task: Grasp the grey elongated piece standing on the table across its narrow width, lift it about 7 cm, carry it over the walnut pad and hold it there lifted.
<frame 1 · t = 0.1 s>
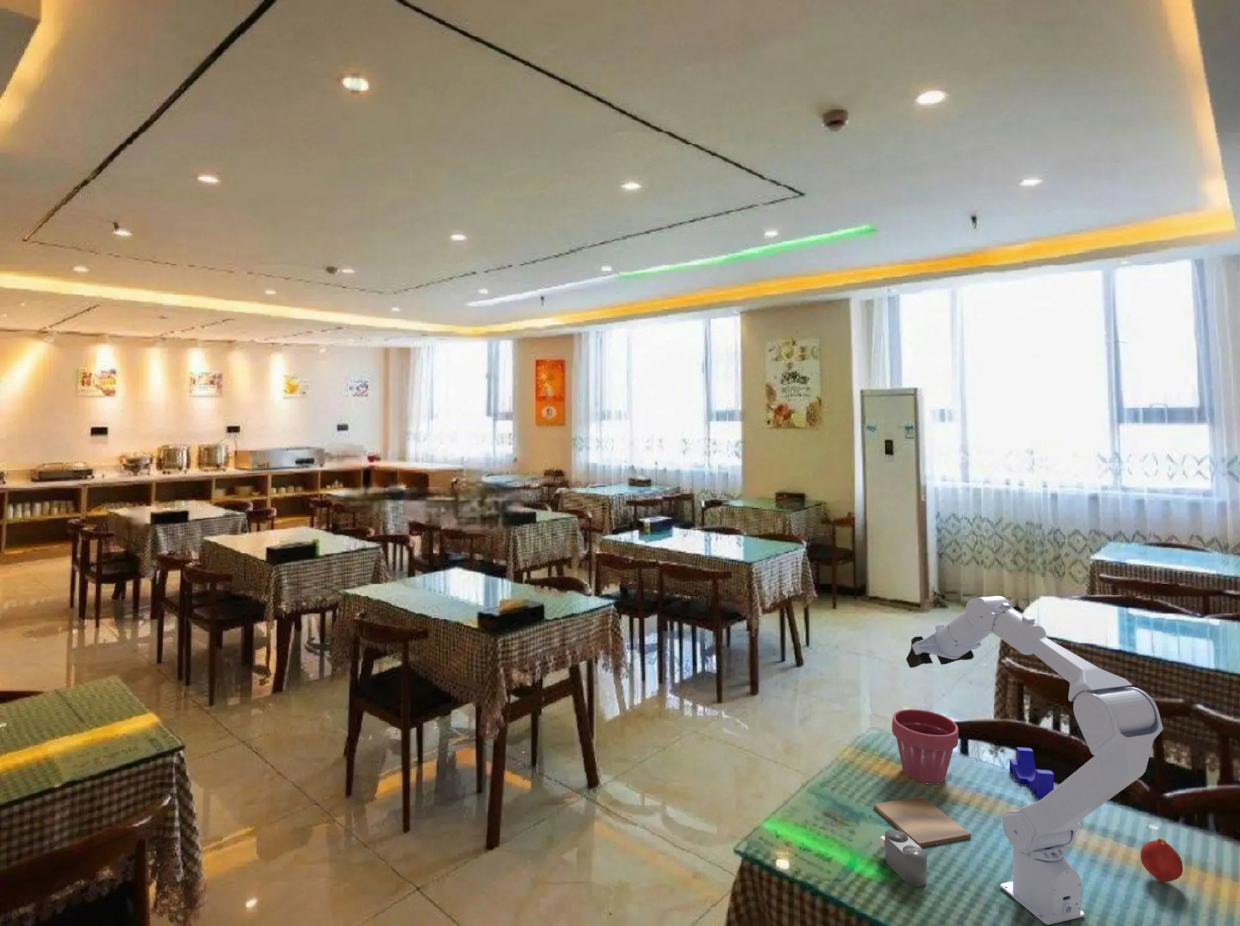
hand: (924, 661, 136), 32 cm above the table, tool tilted 50°, fingers open, 7 cm apart
plant pot: (924, 775, 152), on the table
onion: (1160, 882, 115), on the table
walnut pad: (920, 822, 133), on the table
grey elongated piece: (905, 870, 118), on the table
cable clip: (1030, 786, 147), on the table
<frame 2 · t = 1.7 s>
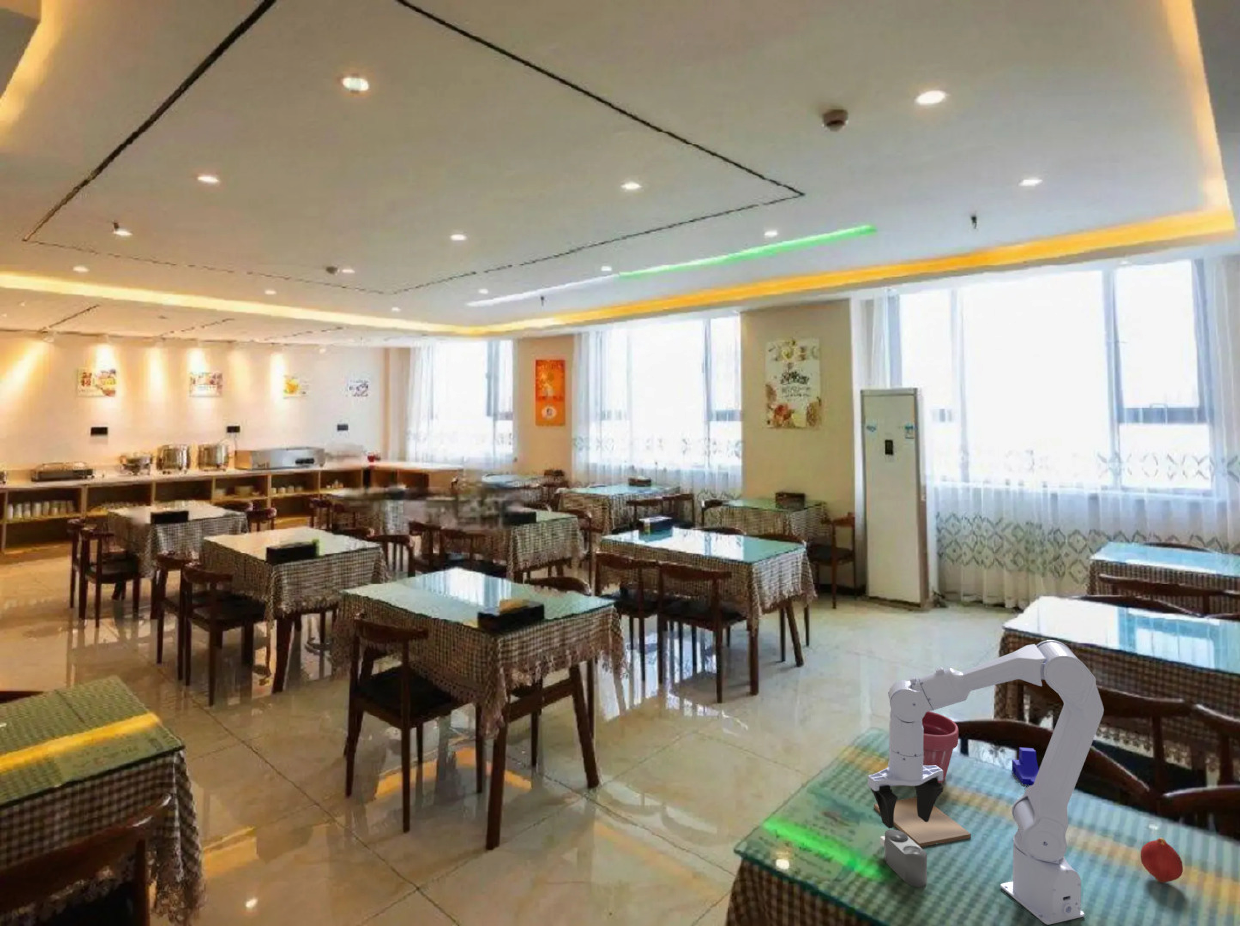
hand: (905, 821, 118), 9 cm above the table, tool pointing down, fingers open, 7 cm apart
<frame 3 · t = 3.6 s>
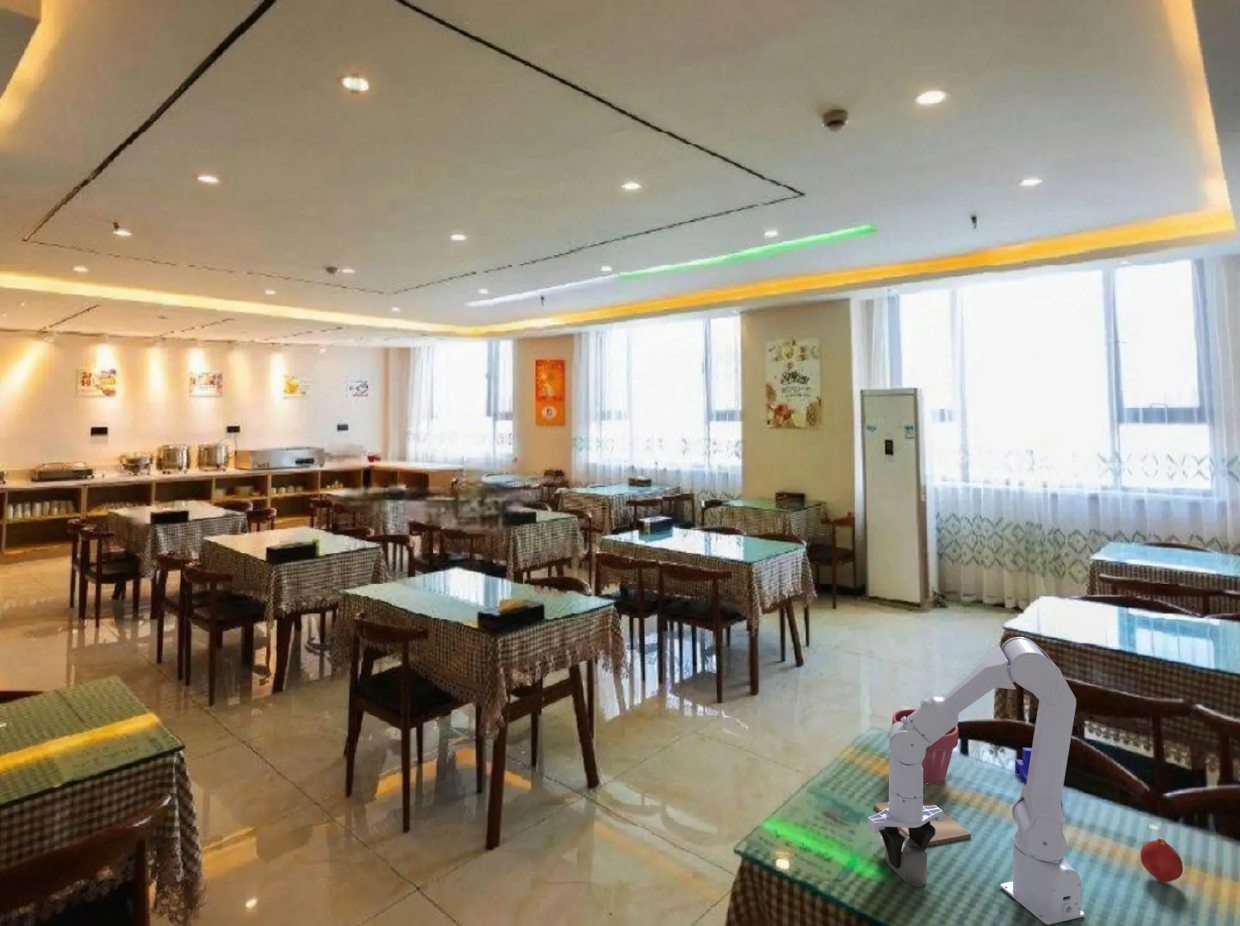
hand: (905, 862, 118), 1 cm above the table, tool pointing down, fingers closed on grey elongated piece, 4 cm apart
grey elongated piece: (905, 870, 118), on the table, touching gripper
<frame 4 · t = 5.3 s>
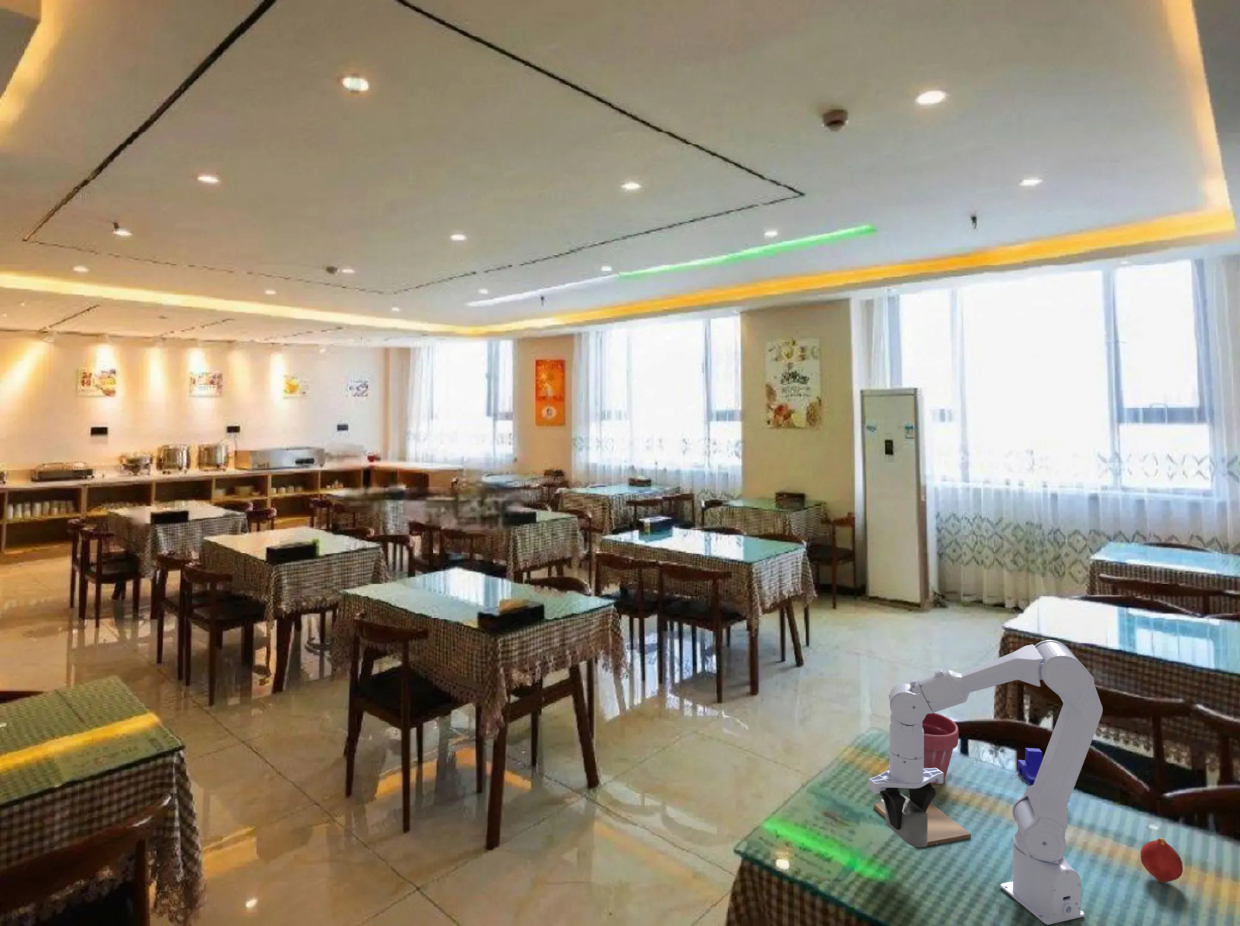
hand: (906, 824, 118), 8 cm above the table, tool pointing down, fingers closed on grey elongated piece, 4 cm apart
grey elongated piece: (905, 832, 118), point 7 cm above the table, touching gripper
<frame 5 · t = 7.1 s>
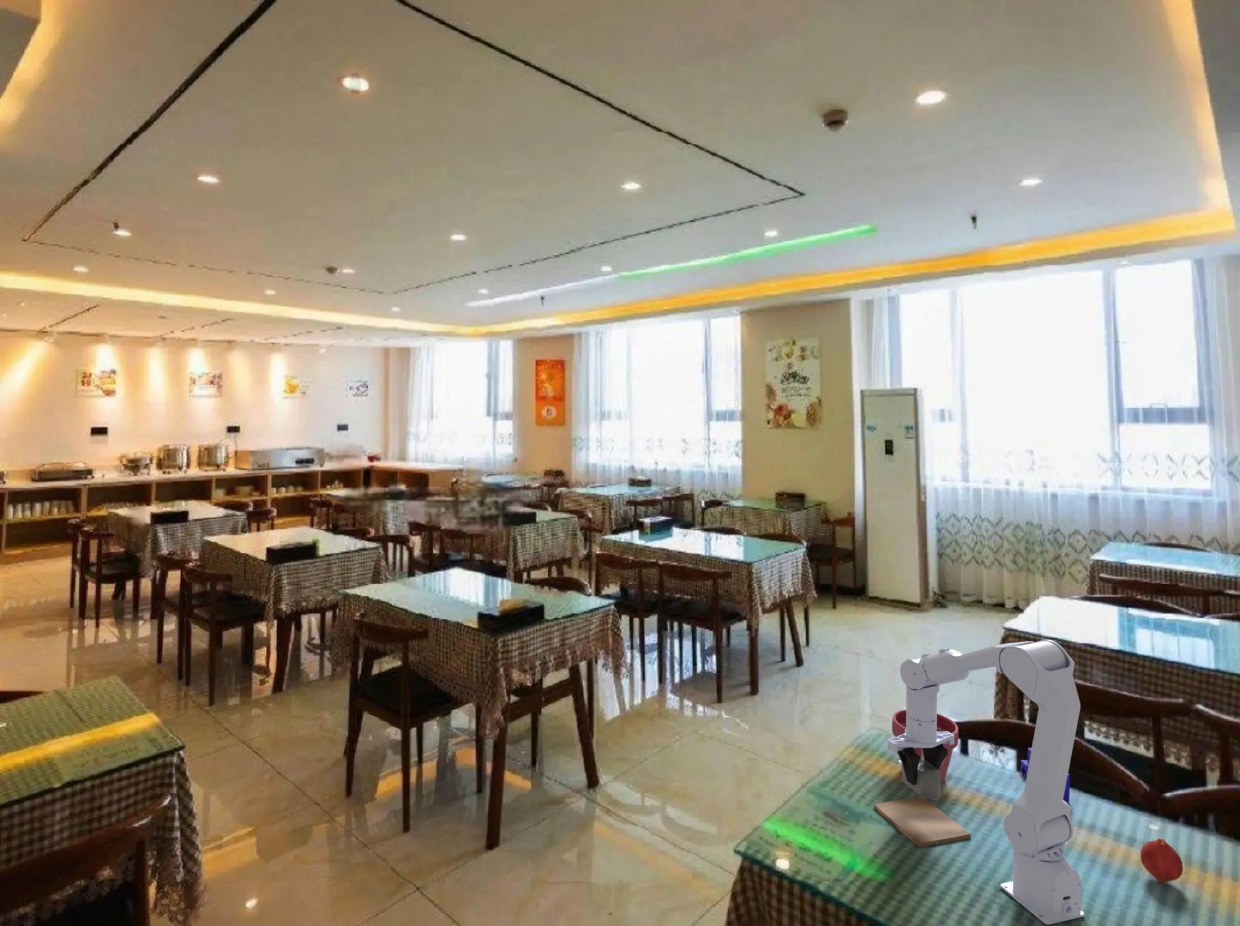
hand: (920, 781, 133), 9 cm above the table, tool pointing down, fingers closed on grey elongated piece, 4 cm apart
grey elongated piece: (920, 787, 133), point 7 cm above the table, touching gripper
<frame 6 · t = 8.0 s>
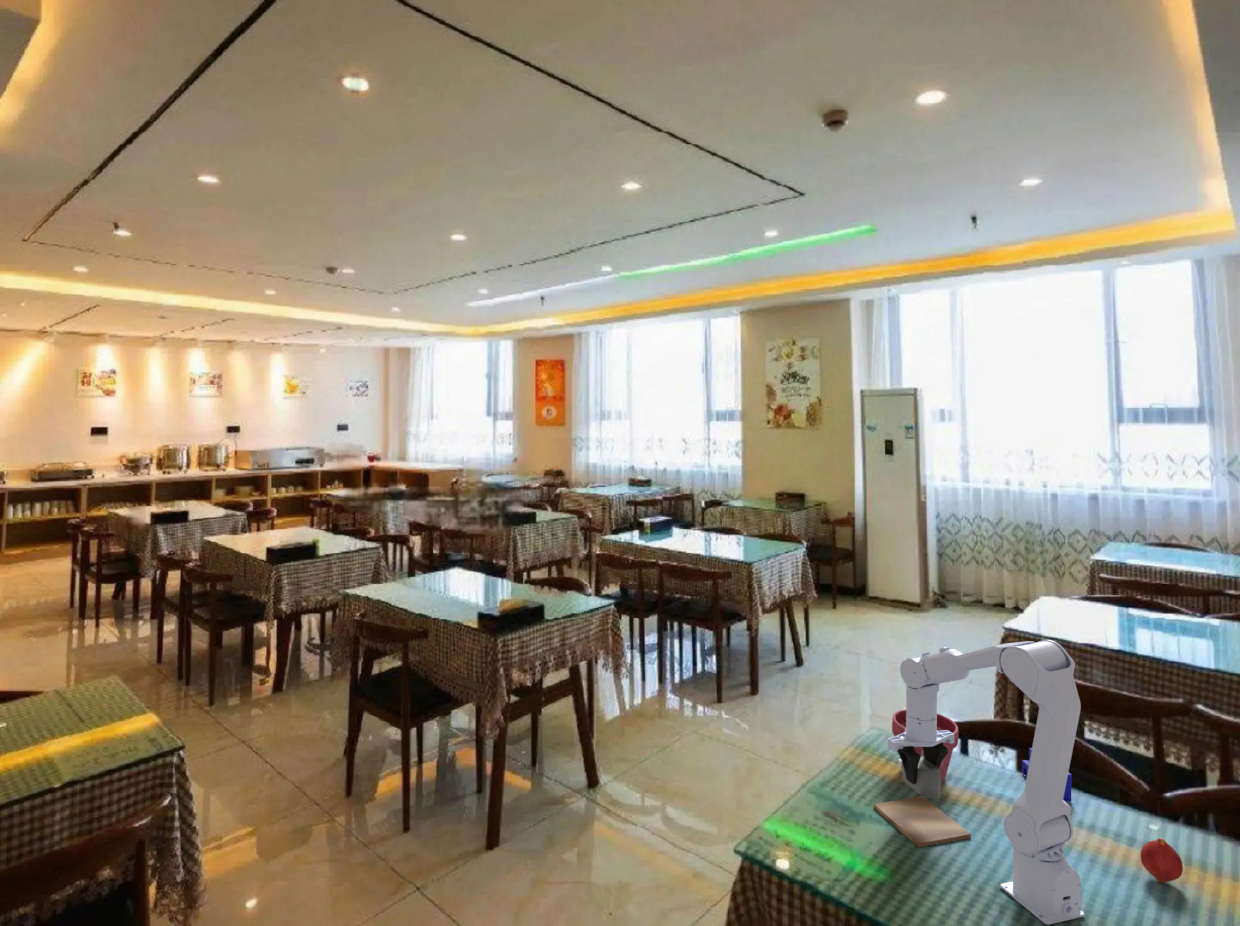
hand: (920, 779, 133), 9 cm above the table, tool pointing down, fingers closed on grey elongated piece, 4 cm apart
grey elongated piece: (920, 786, 133), point 7 cm above the table, touching gripper
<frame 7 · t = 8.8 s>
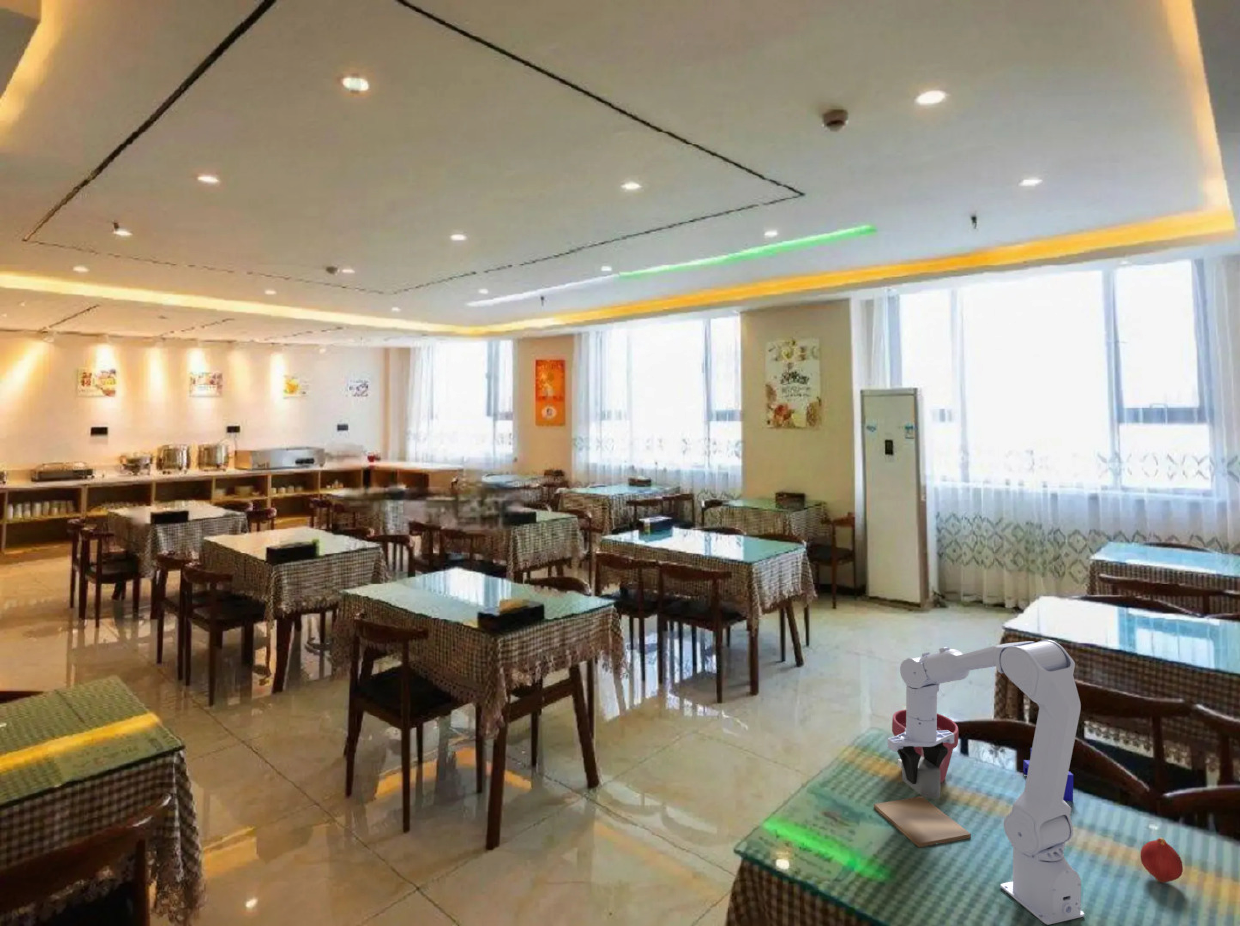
hand: (920, 779, 133), 9 cm above the table, tool pointing down, fingers closed on grey elongated piece, 4 cm apart
grey elongated piece: (920, 786, 133), point 7 cm above the table, touching gripper
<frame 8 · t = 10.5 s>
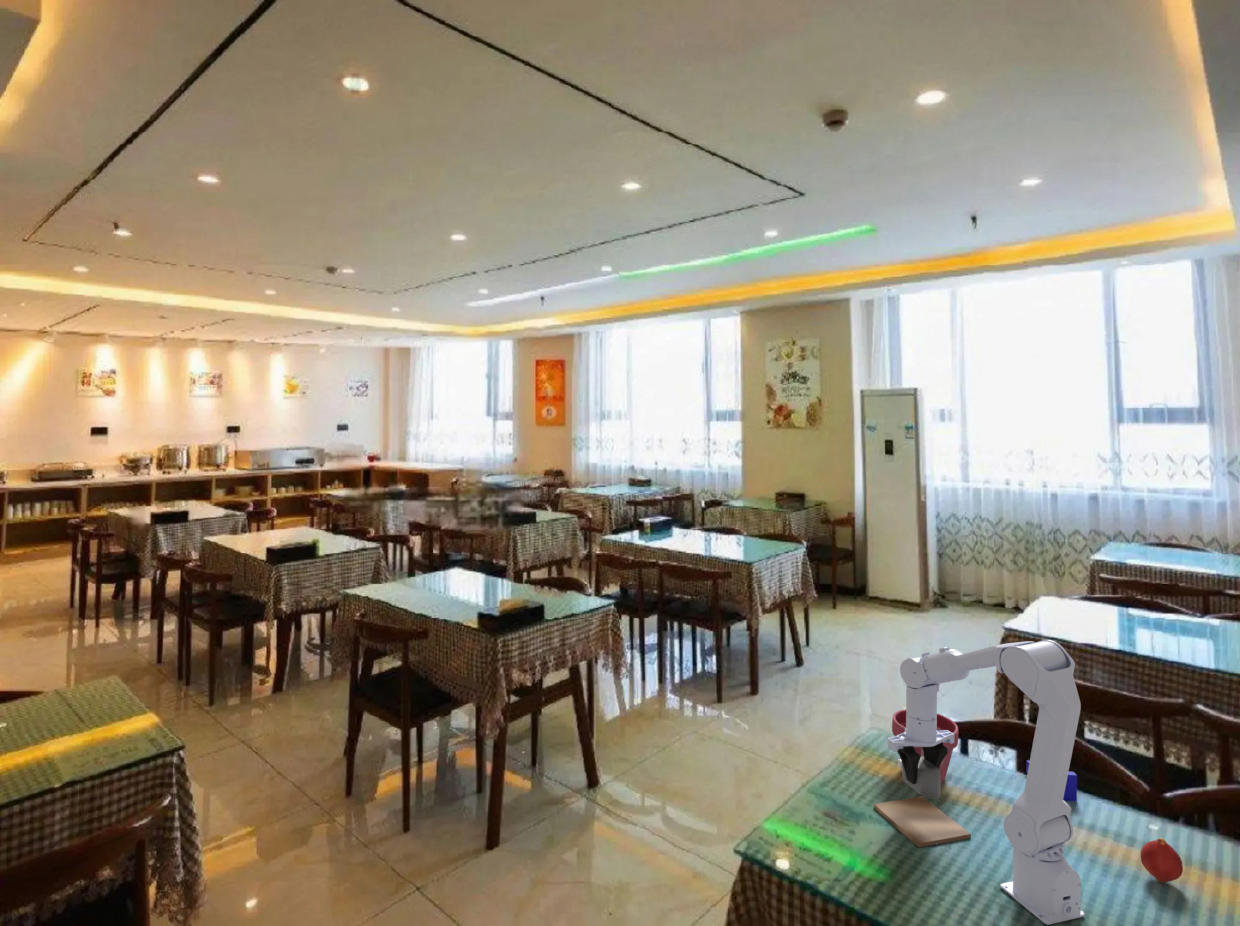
hand: (920, 779, 133), 9 cm above the table, tool pointing down, fingers closed on grey elongated piece, 4 cm apart
grey elongated piece: (920, 786, 133), point 7 cm above the table, touching gripper
at the end: the gripper is holding grey elongated piece; grey elongated piece inside the target area (0.0 cm from its centre), point 7.5 cm above the table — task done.
